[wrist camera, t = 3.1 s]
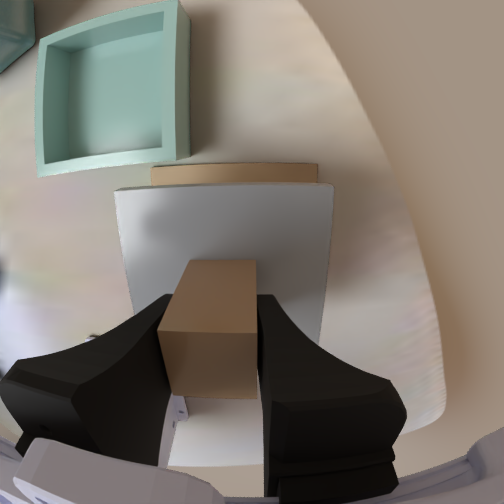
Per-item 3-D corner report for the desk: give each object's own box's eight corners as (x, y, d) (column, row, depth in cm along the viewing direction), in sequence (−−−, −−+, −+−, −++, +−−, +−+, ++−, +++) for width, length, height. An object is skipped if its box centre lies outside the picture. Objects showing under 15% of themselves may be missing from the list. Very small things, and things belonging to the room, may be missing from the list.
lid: (312, 353, 16) (332, 440, 10) (150, 350, 16) (118, 431, 10) (329, 183, 12) (385, 222, 7) (121, 188, 12) (43, 227, 7)
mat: (308, 310, 21) (308, 312, 21) (167, 309, 21) (166, 312, 21) (316, 163, 17) (317, 164, 17) (152, 167, 17) (150, 167, 17)
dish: (190, 156, 17) (176, 160, 14) (67, 169, 17) (37, 177, 14) (190, 21, 14) (177, -2, 11) (68, 49, 14) (40, 39, 11)
